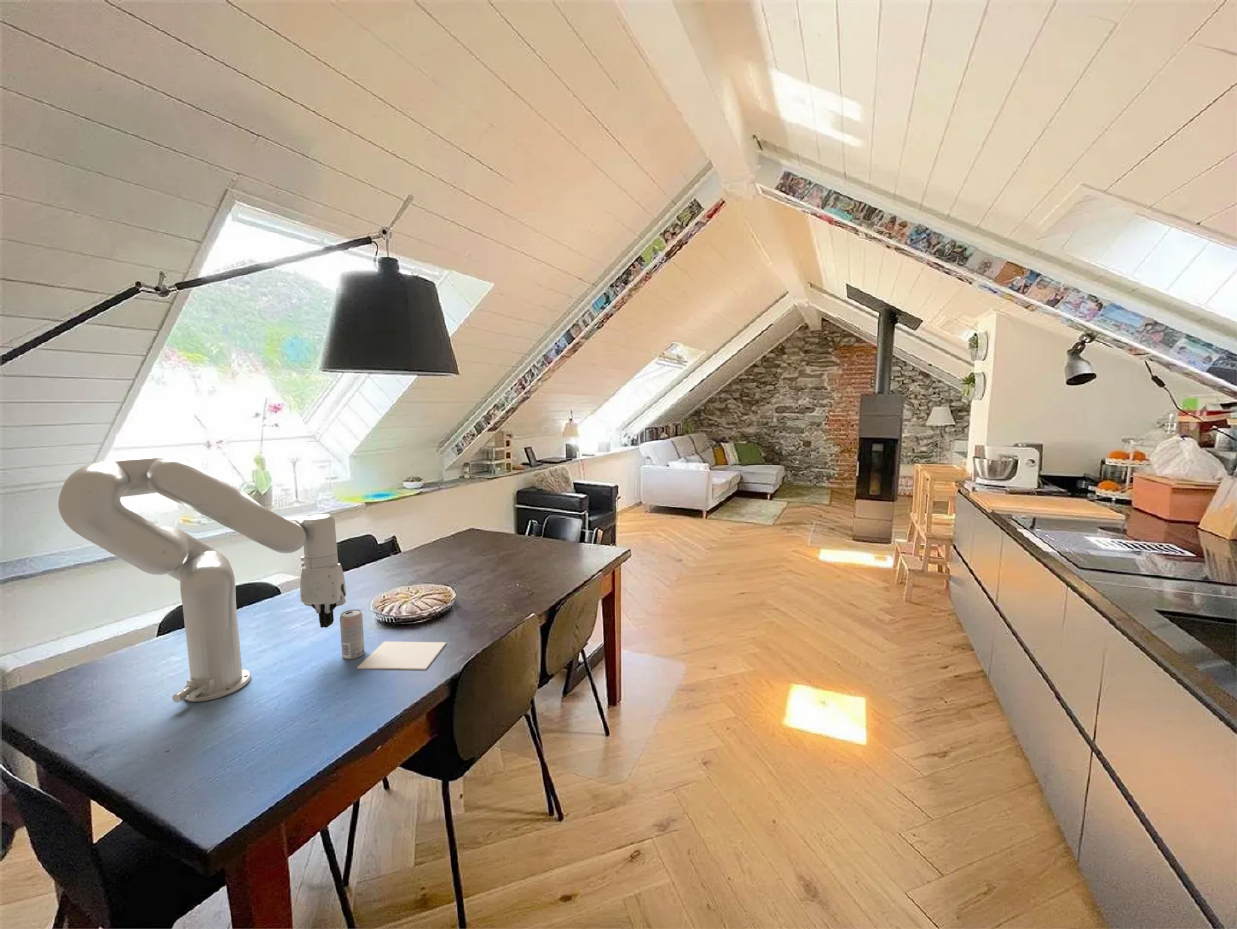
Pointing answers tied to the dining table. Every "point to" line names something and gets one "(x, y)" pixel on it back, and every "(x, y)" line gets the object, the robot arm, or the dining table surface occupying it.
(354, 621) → the energy drink
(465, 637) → the dining table surface
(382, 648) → the mat
